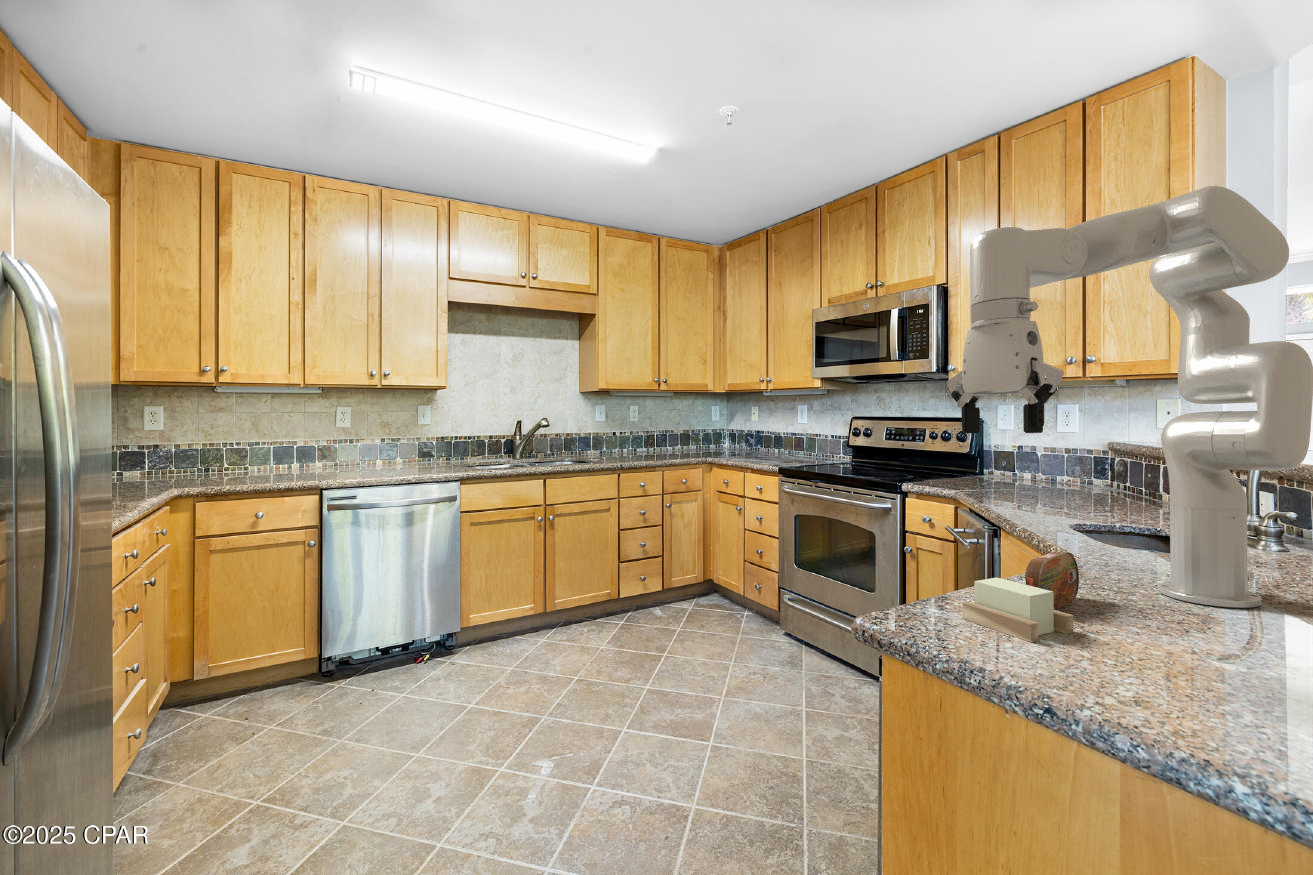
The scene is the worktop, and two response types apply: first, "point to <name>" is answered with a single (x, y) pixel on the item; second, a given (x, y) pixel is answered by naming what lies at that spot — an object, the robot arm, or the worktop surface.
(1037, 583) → the tin
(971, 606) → the chute
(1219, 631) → the worktop surface
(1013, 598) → the block
